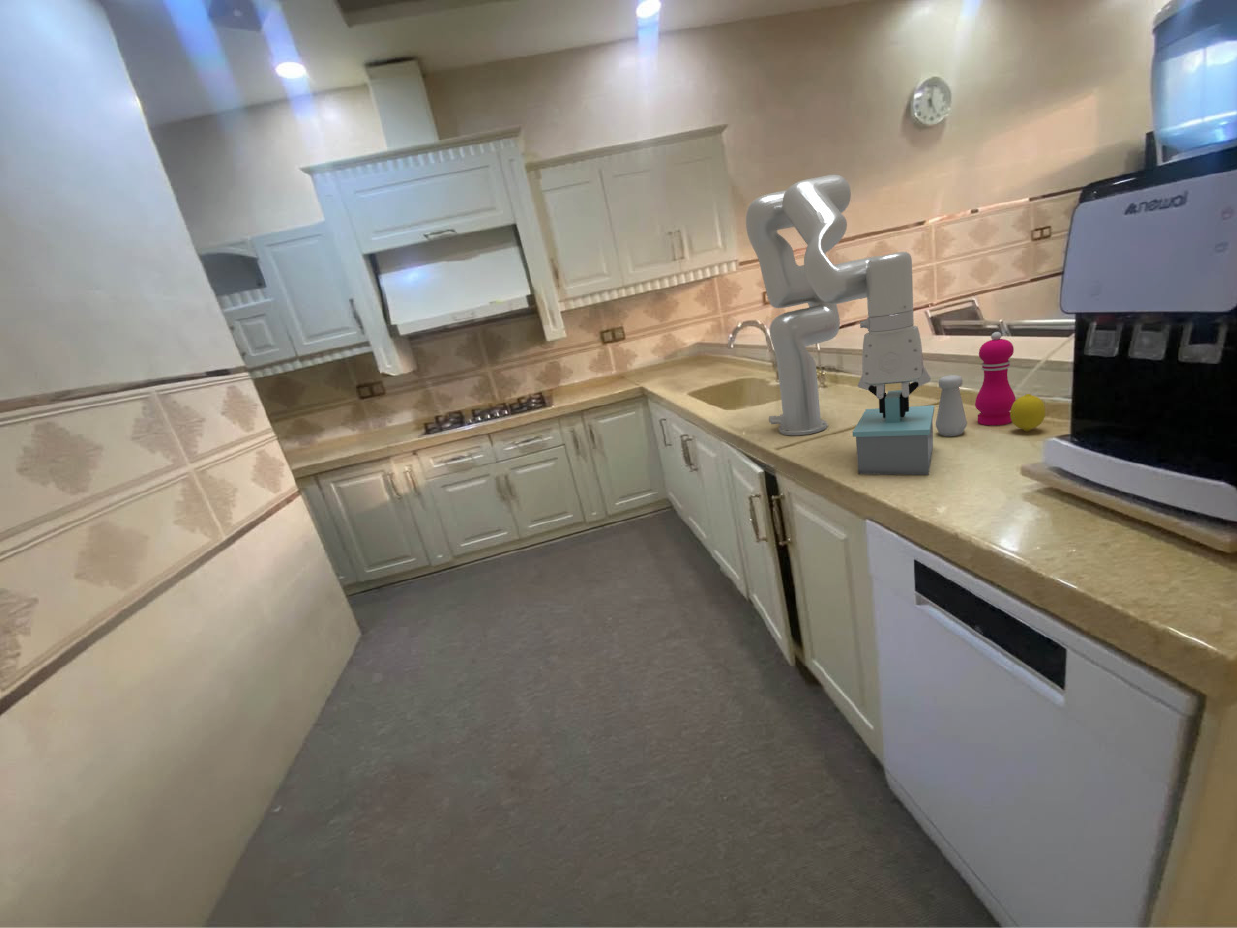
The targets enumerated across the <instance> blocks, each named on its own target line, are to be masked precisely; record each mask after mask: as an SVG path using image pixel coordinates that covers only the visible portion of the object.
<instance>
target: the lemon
mask: <svg viewBox="0 0 1237 928" xmlns="http://www.w3.org/2000/svg"><path fill="white" fill-rule="evenodd" d="M1045 407H1046V406H1045V403H1044V401H1043V400H1042V399H1041V398H1040V397H1038V396H1036V395H1032V394H1031V393H1026V394H1025V395H1022V396H1020V397H1018V398H1016V401H1015V402H1014V403H1013V405H1012V407H1011V410H1010V411H1009V412H1010V417H1011V420H1012V422H1011V423H1012V424H1013V425H1014V426H1015V427H1017V428H1019V429H1022V430H1023V431H1024V432H1030V431H1031V430H1032V429H1035V428H1037V427H1039V426H1040V425H1042V423H1043V422H1044V421H1045V416H1046V408H1045Z"/></svg>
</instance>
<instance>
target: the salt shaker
mask: <svg viewBox="0 0 1237 928" xmlns="http://www.w3.org/2000/svg"><path fill="white" fill-rule="evenodd" d="M963 382H964V381H963V377H962V376H960V375H955V374H950V375H945V376H942V377H940V378H939V379H938V387H939V388H940V389H941V393H940V398H939V404H938V409H937V410H938V411H937V414H936V420H935V428H936V429H937V431H938V433H939V435H940V436H943V437H946V438H947V437H959V436H961V435H962V434H963V433H964V432H965V429H966V428H967V424H968V421H967V418H966V412H965V409H964V404H963V399H962V396H961V390H960V388H961V387H962V386H963Z"/></svg>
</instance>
